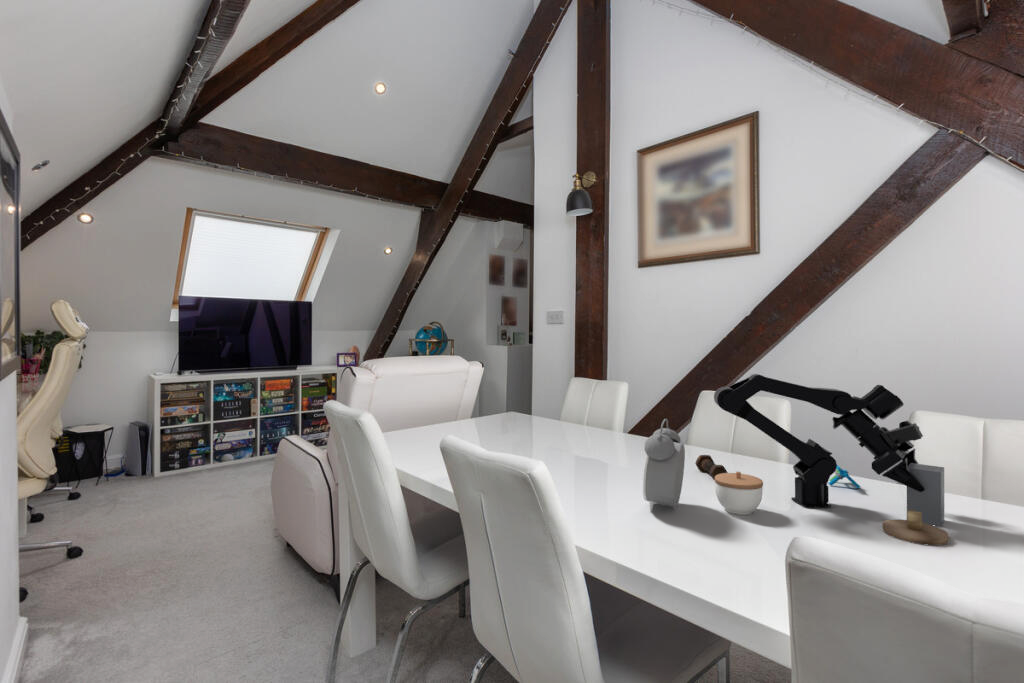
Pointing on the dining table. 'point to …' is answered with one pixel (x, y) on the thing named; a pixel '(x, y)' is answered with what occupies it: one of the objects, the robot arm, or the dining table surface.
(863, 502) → the dining table surface
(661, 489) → the alarm clock
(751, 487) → the lidded jar
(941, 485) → the block
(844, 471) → the blue thin-armed part
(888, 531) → the stub base
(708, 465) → the bolt
